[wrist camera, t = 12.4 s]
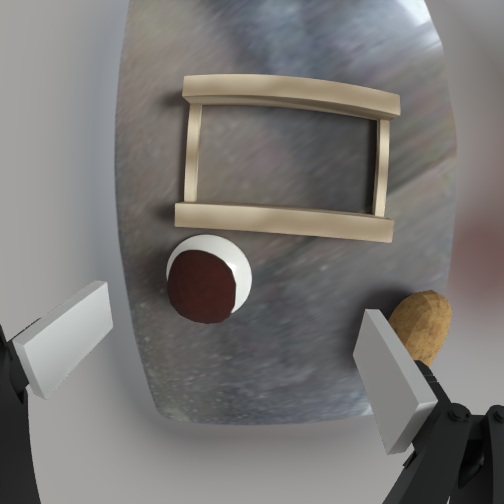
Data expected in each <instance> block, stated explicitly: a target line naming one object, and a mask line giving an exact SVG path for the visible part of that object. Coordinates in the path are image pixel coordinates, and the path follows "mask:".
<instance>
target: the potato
mask: <svg viewBox="0 0 504 504" xmlns="http://www.w3.org/2000/svg"><path fill="white" fill-rule="evenodd" d="M451 313H452V312H451V307H450V305H449V303H448V301H447V300H446V298H445V297H444V296H443V295H440V294H438V293H436V292H434V291H432V290H429V291H423V292H418V293H414V294H412V295H410V296H408V297H407V298H405V299H404V300H402V301H401V303H400V304H399V305H398V306H397V307H396V308H395V309H394V311H393V313H392V315H391V316H390V318H389V320H388V323H389V324H390V326H391V327H392V329H393V330H394V332H395V333H396V335H397V336H398V338H399V339H400V341H401V342H402V344H403V345H404V347H405V348H406V350H407V351H408V353H409V354H410V356H411V357H412V359H413V360H420V361H422V362H423V363H424V364H425V365H427V366H428V367H429V365H430V364H431V363H432V361H433V360H434V358H435V357H436V355H437V354H438V352H439V350H440V348H441V347H442V345H443V342H444V340H445V337H446V335H447V333H448V328H449V324H450V320H451Z"/></svg>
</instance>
